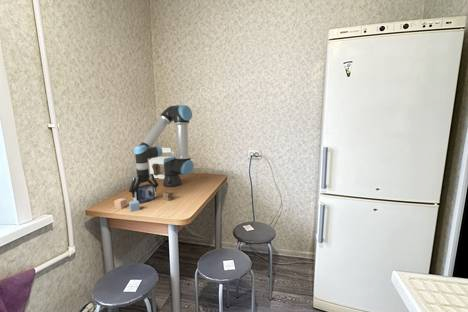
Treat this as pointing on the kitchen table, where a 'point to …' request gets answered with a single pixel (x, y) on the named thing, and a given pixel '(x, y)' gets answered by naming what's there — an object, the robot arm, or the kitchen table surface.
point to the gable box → (159, 160)
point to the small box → (145, 193)
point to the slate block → (134, 206)
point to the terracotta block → (120, 203)
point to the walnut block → (168, 196)
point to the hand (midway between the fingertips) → (145, 199)
